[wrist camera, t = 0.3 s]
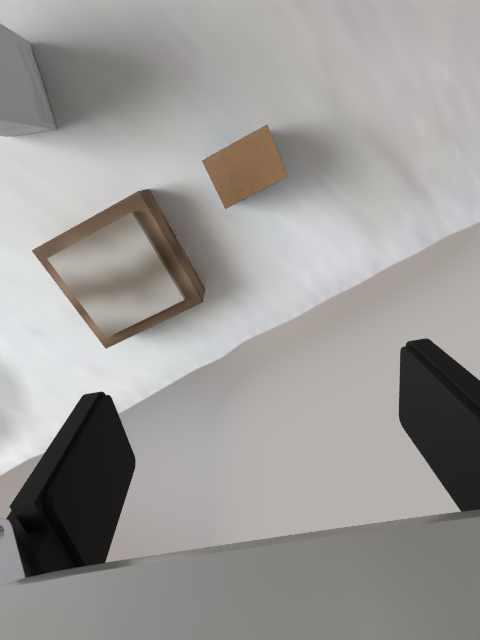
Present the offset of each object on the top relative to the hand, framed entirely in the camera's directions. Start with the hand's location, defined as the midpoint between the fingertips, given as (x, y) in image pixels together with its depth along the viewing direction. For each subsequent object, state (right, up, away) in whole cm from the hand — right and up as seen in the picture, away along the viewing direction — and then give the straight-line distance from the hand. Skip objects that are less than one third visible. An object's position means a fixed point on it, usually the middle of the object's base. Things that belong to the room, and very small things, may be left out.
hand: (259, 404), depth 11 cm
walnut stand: (-15, +10, +33) cm, 37 cm away
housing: (0, +20, +29) cm, 35 cm away
